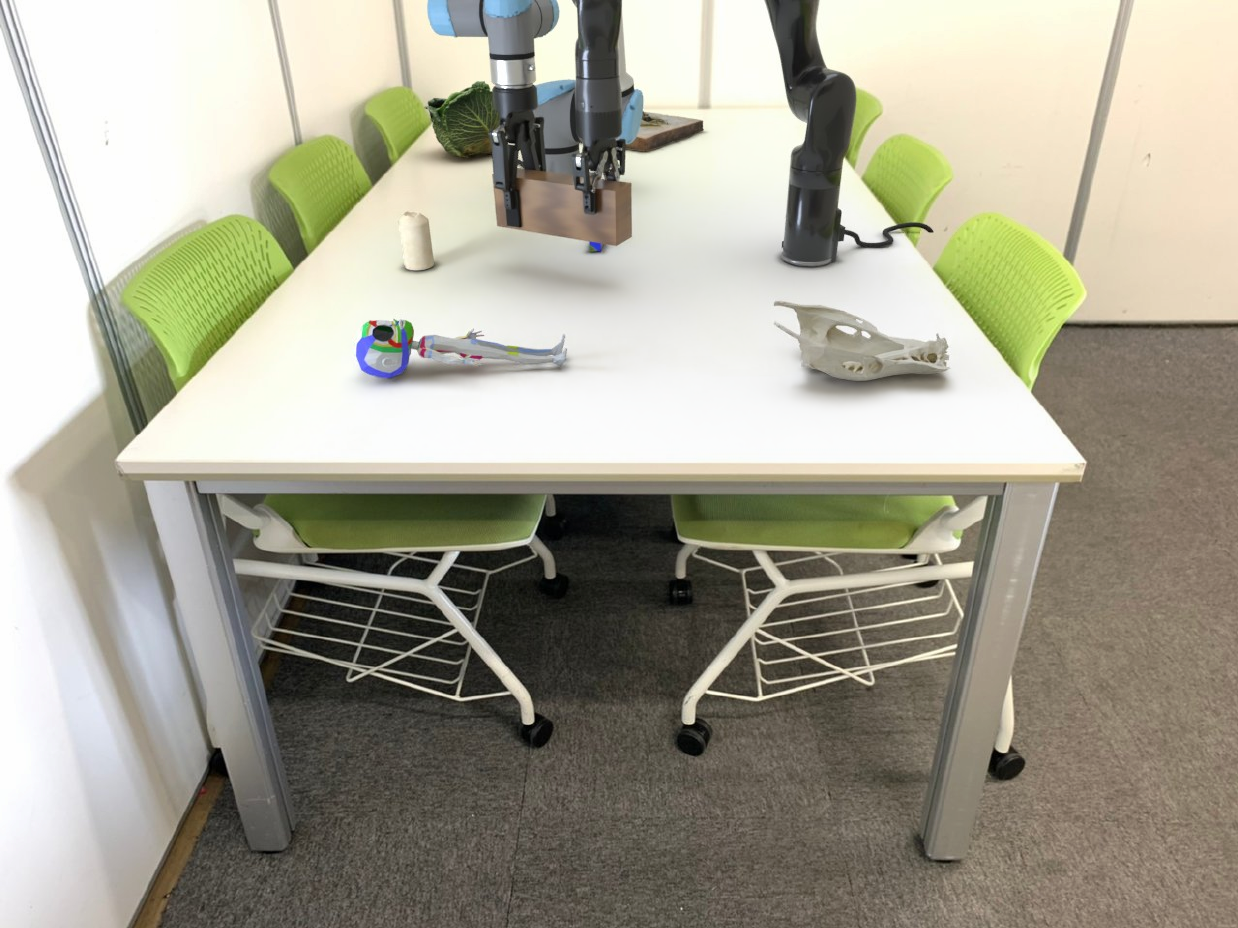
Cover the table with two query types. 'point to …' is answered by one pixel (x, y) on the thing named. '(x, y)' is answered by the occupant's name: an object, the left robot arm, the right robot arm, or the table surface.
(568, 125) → the left robot arm
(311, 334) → the table surface
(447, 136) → the vegetable
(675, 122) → the plaque
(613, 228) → the bar
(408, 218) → the candle
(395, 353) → the toy
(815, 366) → the anatomical model
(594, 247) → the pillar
